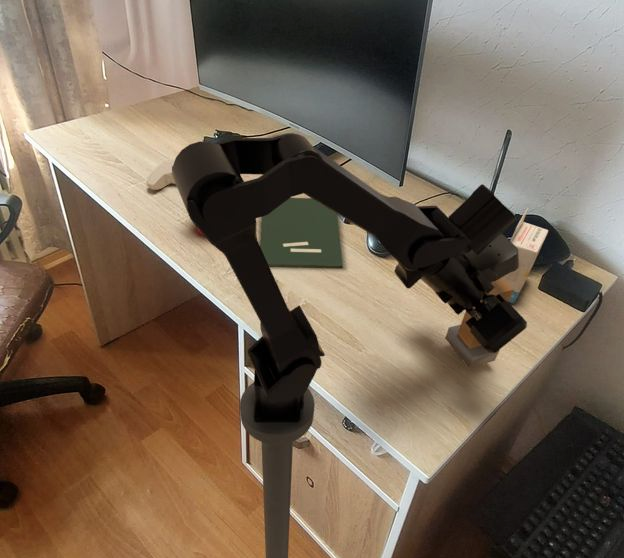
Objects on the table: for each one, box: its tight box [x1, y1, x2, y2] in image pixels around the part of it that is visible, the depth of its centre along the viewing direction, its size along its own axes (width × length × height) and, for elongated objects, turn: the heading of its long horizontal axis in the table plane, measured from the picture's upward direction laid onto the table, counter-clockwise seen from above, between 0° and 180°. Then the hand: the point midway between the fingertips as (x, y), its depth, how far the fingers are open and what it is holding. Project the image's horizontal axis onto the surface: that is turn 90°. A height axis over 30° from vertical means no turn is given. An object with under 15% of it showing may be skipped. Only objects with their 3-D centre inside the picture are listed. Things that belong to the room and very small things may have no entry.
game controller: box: [146, 160, 176, 191], centre depth 116 cm, size 14×4×10 cm
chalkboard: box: [259, 197, 344, 269], centre depth 108 cm, size 24×16×1 cm, turn 2°
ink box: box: [502, 207, 549, 305], centre depth 93 cm, size 8×5×15 cm, turn 150°
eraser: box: [444, 278, 514, 369], centre depth 80 cm, size 5×7×14 cm
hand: (490, 315), depth 80 cm, fingers closed on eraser, 3 cm apart
